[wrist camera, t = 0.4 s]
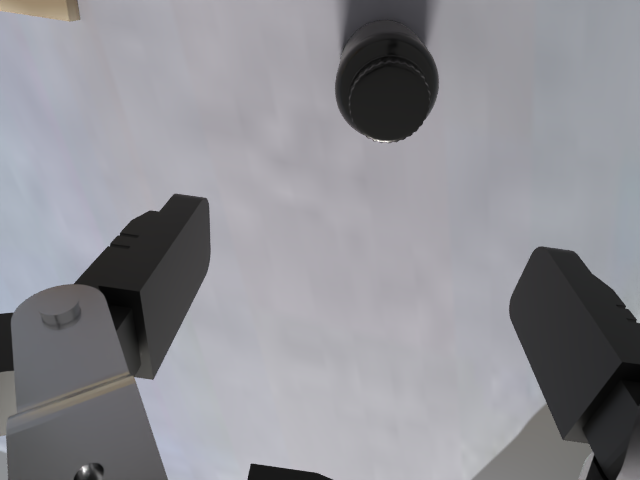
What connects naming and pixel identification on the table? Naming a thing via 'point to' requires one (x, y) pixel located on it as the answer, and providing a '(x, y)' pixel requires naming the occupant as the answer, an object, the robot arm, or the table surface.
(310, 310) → the table surface
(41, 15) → the birch board
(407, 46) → the supplement bottle
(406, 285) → the table surface
